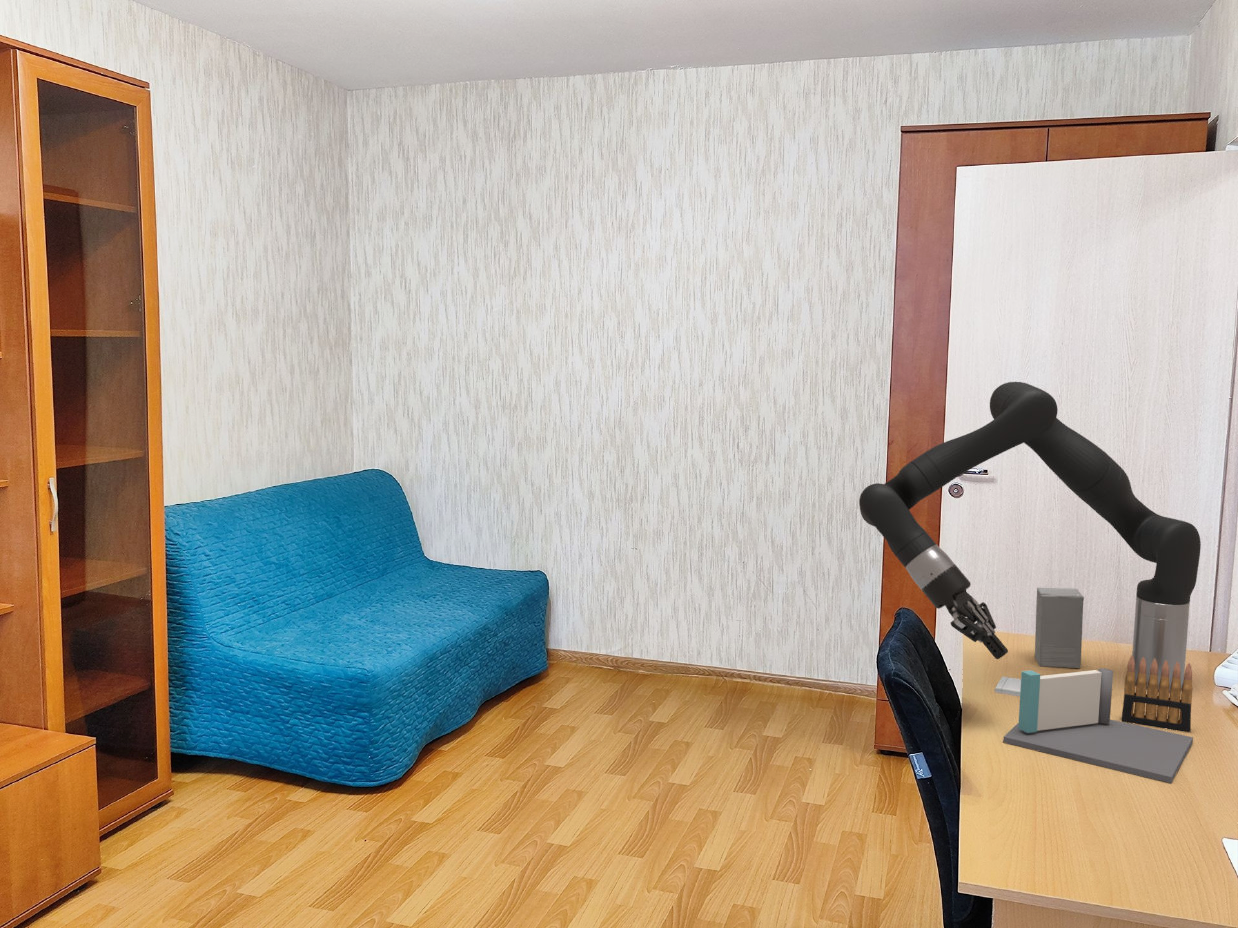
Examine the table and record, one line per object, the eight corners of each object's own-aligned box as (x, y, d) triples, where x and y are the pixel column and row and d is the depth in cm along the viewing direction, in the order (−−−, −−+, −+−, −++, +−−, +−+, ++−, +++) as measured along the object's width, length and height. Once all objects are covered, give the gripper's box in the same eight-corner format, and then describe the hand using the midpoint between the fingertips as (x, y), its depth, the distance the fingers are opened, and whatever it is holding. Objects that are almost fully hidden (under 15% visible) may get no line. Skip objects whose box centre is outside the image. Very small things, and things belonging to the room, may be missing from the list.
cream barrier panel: (1102, 717, 175) (1106, 662, 174) (1112, 722, 173) (1116, 666, 172) (1017, 727, 170) (1021, 671, 169) (1027, 733, 168) (1030, 675, 166)
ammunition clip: (1189, 729, 174) (1195, 662, 173) (1190, 732, 172) (1195, 665, 171) (1121, 718, 179) (1126, 653, 178) (1121, 721, 177) (1126, 656, 176)
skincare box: (1074, 660, 212) (1078, 587, 210) (1081, 670, 205) (1086, 595, 203) (1031, 657, 214) (1036, 584, 212) (1037, 667, 207) (1042, 592, 205)
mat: (1037, 708, 183) (1037, 703, 183) (1192, 742, 168) (1193, 737, 168) (1003, 742, 167) (1003, 736, 167) (1171, 783, 152) (1171, 776, 152)
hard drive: (1070, 686, 192) (1002, 674, 199) (1065, 698, 185) (995, 686, 192) (1070, 694, 193) (1002, 682, 199) (1064, 707, 186) (994, 694, 192)
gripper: (939, 570, 172) (1007, 652, 166) (965, 557, 183) (1031, 635, 177) (908, 595, 176) (974, 676, 170) (935, 581, 186) (998, 658, 180)
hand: (1003, 655), depth 173 cm, fingers closed
